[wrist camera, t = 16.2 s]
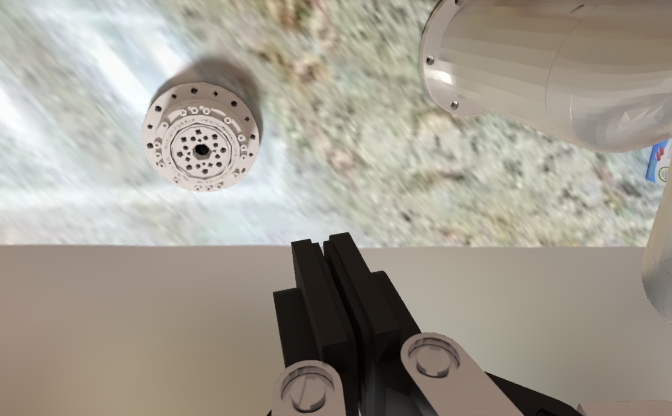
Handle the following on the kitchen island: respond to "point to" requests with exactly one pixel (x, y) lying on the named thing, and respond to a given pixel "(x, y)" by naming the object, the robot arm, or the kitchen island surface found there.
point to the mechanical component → (200, 137)
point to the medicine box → (660, 162)
